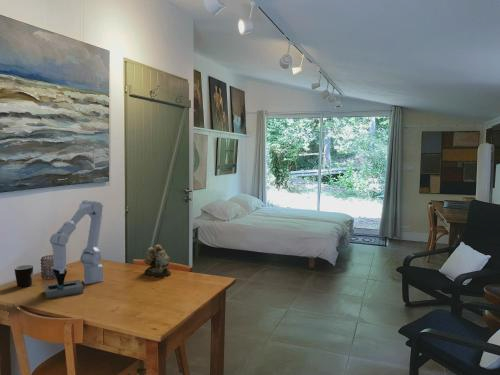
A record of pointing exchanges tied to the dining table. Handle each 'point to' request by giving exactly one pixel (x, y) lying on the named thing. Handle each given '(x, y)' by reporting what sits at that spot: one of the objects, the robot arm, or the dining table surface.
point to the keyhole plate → (63, 289)
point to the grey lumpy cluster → (157, 262)
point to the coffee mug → (24, 275)
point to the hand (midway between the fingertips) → (60, 284)
